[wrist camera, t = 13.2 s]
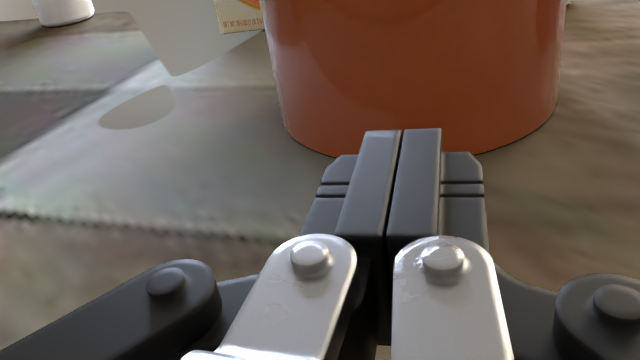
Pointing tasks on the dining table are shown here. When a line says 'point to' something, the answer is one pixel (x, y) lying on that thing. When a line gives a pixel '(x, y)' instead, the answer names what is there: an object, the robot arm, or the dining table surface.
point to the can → (62, 11)
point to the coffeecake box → (238, 15)
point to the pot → (414, 69)
